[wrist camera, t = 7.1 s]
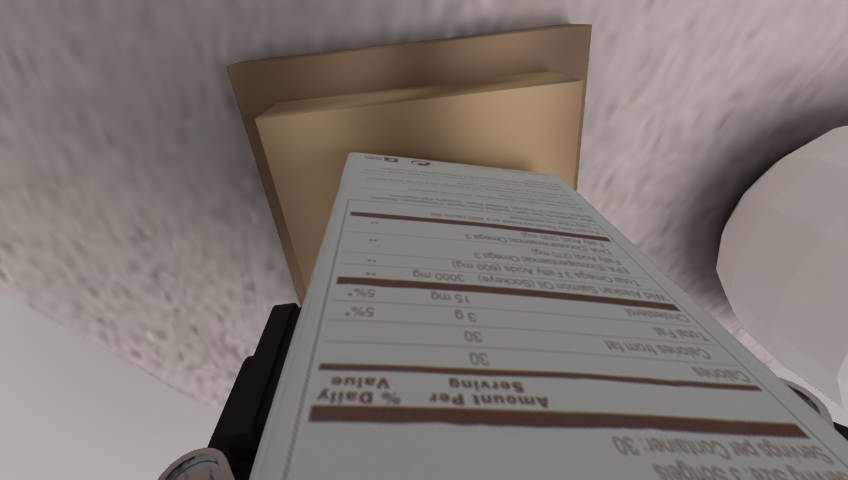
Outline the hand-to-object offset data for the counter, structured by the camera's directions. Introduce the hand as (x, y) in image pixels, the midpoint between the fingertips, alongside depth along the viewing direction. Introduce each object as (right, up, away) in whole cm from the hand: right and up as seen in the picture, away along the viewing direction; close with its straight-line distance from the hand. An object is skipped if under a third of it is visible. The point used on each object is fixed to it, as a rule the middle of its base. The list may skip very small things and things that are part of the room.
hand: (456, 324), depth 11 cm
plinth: (-1, +5, +9) cm, 10 cm away
